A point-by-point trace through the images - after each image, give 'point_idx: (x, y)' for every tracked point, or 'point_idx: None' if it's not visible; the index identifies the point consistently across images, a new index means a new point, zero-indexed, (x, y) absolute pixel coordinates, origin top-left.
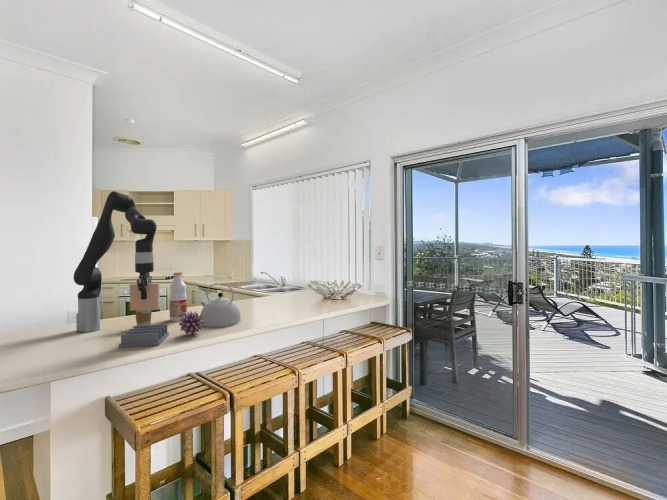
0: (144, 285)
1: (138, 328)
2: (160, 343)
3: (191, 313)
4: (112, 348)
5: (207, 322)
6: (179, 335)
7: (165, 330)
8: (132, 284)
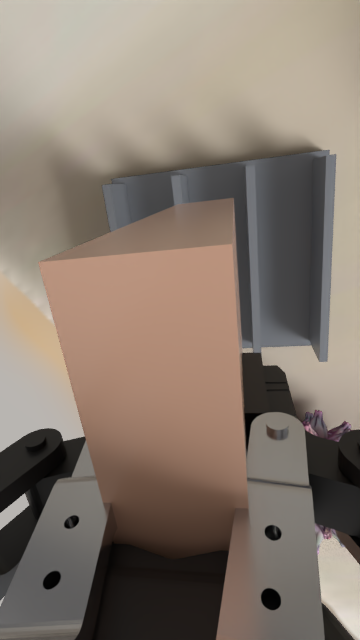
0: (4, 585)
1: (250, 223)
2: None
3: (317, 525)
4: (108, 146)
5: None
6: (298, 386)
7: (312, 338)
8: (89, 332)
